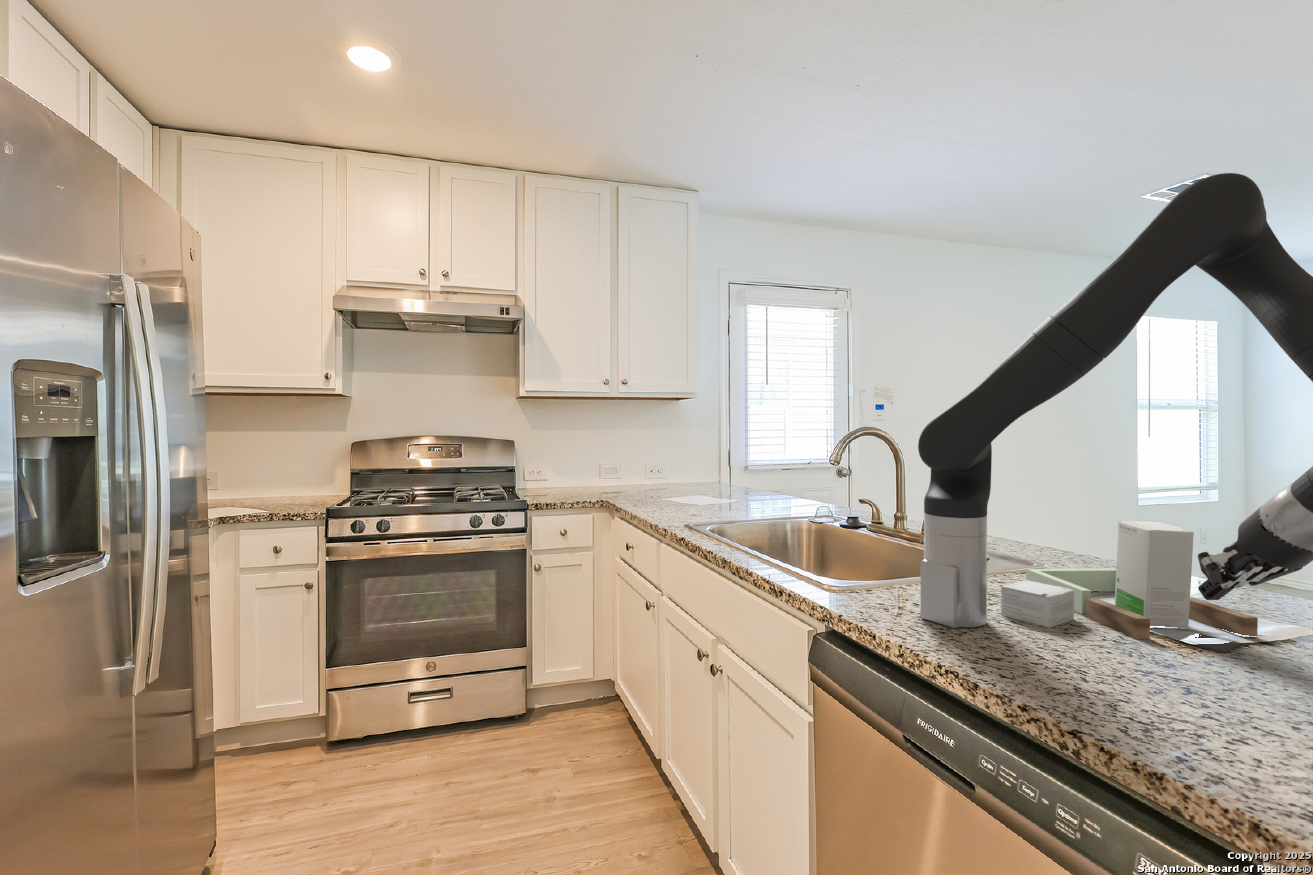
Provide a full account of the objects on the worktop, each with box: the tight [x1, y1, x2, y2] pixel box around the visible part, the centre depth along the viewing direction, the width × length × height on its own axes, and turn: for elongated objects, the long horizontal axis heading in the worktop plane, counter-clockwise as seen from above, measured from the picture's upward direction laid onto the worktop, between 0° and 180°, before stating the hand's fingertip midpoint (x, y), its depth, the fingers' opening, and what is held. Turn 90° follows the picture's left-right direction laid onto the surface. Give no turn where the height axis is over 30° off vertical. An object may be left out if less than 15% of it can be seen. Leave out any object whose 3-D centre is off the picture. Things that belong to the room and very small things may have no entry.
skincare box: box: [1114, 520, 1195, 630], centre depth 97 cm, size 8×7×16 cm
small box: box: [1000, 580, 1075, 629], centre depth 99 cm, size 8×8×5 cm
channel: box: [1084, 597, 1259, 640], centre depth 94 cm, size 10×18×3 cm, turn 90°
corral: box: [1025, 567, 1116, 615], centre depth 108 cm, size 15×18×4 cm
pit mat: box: [1195, 633, 1241, 654], centre depth 87 cm, size 6×5×1 cm
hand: (1206, 594), depth 88 cm, fingers closed
